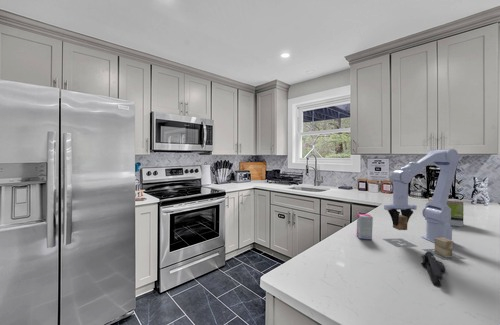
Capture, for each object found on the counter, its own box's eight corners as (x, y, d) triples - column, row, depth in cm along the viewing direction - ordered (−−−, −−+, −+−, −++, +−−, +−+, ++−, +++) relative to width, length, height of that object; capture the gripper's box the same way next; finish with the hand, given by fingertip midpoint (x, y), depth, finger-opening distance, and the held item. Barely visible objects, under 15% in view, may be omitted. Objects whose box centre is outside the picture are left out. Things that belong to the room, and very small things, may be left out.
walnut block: (400, 227, 107) (401, 214, 107) (407, 229, 103) (407, 216, 103) (392, 227, 107) (393, 214, 107) (399, 230, 103) (399, 217, 103)
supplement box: (372, 240, 108) (373, 216, 108) (359, 239, 109) (359, 216, 109) (368, 236, 114) (369, 213, 113) (356, 235, 115) (356, 213, 115)
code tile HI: (443, 248, 99) (443, 248, 99) (466, 259, 89) (466, 259, 89) (421, 249, 98) (421, 249, 98) (443, 260, 88) (443, 259, 88)
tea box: (459, 223, 138) (459, 199, 137) (463, 227, 129) (464, 201, 129) (428, 219, 146) (428, 196, 145) (430, 223, 137) (430, 199, 137)
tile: (401, 238, 111) (401, 238, 111) (418, 246, 101) (418, 246, 101) (382, 239, 110) (382, 238, 110) (397, 247, 100) (397, 247, 100)
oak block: (441, 251, 96) (442, 237, 96) (452, 255, 92) (452, 240, 92) (434, 252, 95) (434, 238, 94) (444, 256, 91) (445, 241, 91)
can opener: (419, 262, 86) (419, 247, 86) (443, 267, 83) (443, 252, 82) (422, 283, 72) (423, 266, 72) (451, 291, 68) (452, 272, 68)
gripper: (391, 197, 100) (391, 228, 101) (422, 197, 101) (421, 227, 102) (381, 195, 107) (380, 223, 108) (410, 194, 109) (409, 222, 109)
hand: (399, 225), depth 105 cm, fingers closed on walnut block, 4 cm apart
